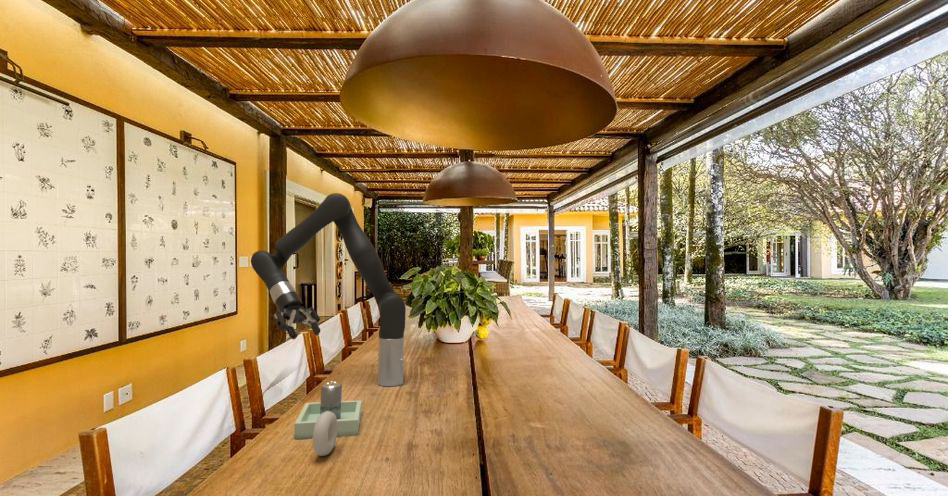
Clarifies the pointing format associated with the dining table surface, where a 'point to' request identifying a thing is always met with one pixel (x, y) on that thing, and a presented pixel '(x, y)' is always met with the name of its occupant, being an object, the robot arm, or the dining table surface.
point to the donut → (325, 433)
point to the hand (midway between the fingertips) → (307, 335)
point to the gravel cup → (331, 398)
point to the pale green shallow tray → (345, 424)
